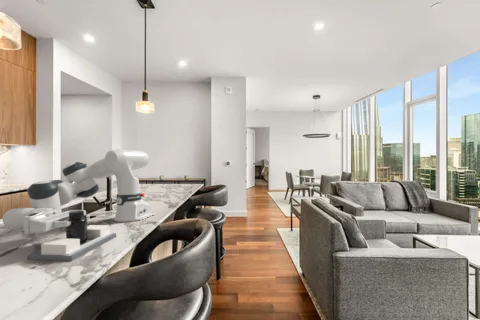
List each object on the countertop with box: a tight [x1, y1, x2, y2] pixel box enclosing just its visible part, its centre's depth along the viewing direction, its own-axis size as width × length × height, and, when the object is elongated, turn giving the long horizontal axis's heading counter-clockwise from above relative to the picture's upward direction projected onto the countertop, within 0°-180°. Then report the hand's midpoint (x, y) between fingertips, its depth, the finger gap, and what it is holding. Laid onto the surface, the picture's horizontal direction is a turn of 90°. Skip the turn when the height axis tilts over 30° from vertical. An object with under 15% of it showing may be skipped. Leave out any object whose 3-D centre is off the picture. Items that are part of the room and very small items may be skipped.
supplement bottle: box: [65, 209, 88, 244], centre depth 91 cm, size 7×7×12 cm
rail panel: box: [27, 224, 117, 262], centre depth 91 cm, size 24×16×5 cm, turn 175°
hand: (79, 220), depth 90 cm, fingers open, 8 cm apart
